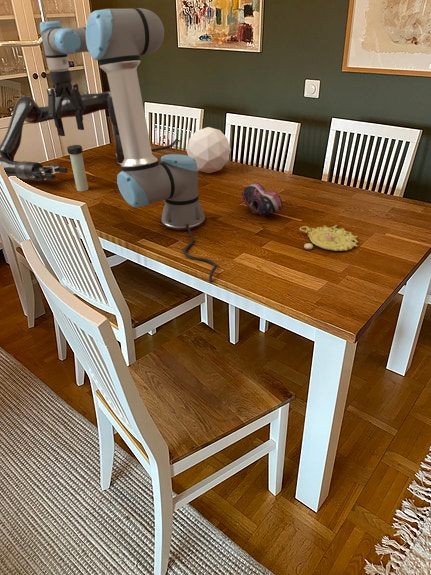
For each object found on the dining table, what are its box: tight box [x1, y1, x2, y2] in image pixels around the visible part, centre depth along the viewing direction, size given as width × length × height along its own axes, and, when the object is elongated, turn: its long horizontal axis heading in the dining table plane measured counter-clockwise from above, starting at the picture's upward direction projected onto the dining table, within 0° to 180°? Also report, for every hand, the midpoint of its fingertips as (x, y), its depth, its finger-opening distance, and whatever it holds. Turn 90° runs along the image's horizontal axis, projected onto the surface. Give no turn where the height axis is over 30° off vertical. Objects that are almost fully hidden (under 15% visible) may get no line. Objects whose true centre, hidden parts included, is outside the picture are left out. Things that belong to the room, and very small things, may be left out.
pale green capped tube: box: [69, 152, 89, 193], centre depth 182 cm, size 5×5×17 cm
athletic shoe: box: [238, 182, 284, 217], centre depth 160 cm, size 11×22×12 cm
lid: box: [66, 144, 83, 155], centre depth 178 cm, size 6×6×2 cm
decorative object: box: [299, 224, 359, 252], centre depth 141 cm, size 21×2×20 cm
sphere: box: [186, 126, 232, 174], centre depth 198 cm, size 19×20×20 cm
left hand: (60, 173), depth 187 cm, fingers open, 8 cm apart
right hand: (71, 132), depth 175 cm, fingers open, 10 cm apart
